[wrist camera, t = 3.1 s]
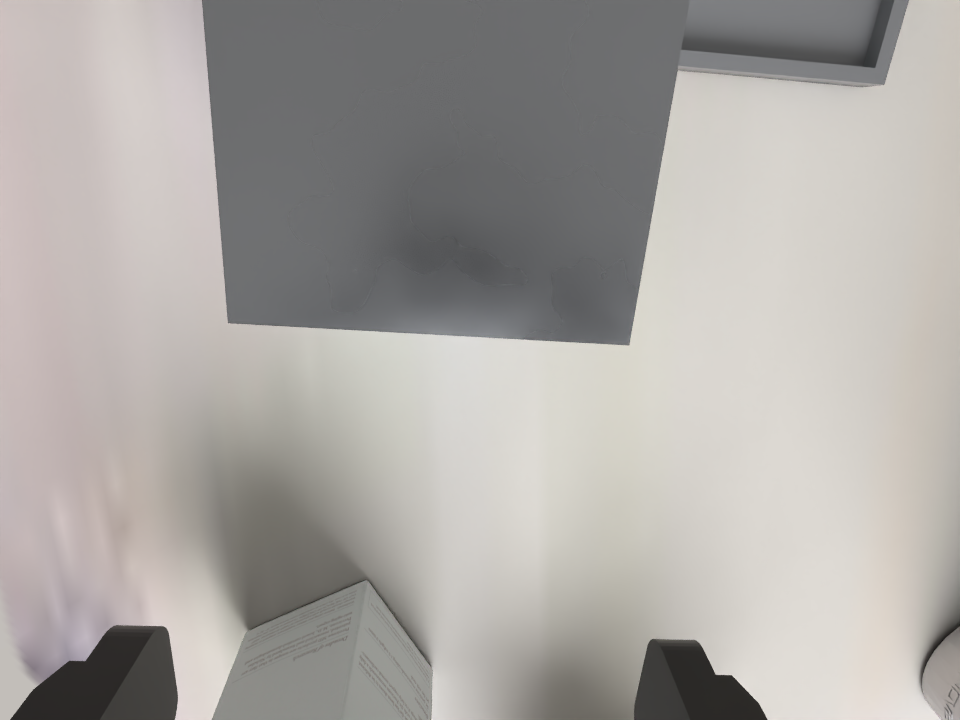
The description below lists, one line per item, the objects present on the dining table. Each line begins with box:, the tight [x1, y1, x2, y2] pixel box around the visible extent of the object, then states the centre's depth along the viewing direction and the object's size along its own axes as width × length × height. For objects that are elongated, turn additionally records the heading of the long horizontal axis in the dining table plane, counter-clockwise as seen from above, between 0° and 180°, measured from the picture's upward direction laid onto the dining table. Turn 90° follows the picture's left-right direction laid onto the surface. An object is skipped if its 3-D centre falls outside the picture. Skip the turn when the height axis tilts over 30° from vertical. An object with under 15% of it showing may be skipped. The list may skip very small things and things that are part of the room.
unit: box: [202, 0, 690, 345], centre depth 17 cm, size 9×8×11 cm
